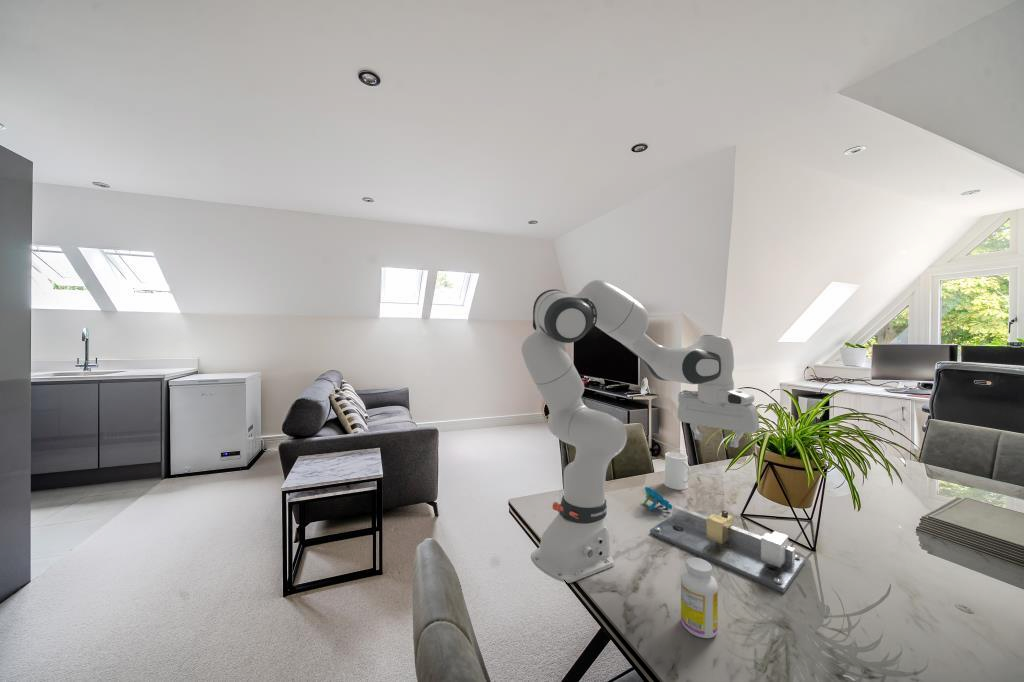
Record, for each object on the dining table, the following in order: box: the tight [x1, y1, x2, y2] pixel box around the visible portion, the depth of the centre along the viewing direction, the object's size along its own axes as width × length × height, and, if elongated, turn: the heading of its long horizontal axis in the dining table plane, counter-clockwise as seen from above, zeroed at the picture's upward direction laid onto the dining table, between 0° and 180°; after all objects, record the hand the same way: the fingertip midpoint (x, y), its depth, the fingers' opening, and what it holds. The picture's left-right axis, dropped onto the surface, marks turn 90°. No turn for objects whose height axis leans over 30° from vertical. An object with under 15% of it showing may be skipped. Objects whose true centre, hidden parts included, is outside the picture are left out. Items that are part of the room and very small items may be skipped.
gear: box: [642, 486, 673, 512], centre depth 126 cm, size 11×6×10 cm
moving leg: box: [707, 510, 734, 545], centre depth 104 cm, size 8×4×7 cm, turn 130°
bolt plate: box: [649, 515, 806, 594], centre depth 103 cm, size 18×33×2 cm, turn 40°
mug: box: [663, 451, 693, 491], centre depth 144 cm, size 12×8×12 cm
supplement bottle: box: [680, 556, 719, 639], centre depth 75 cm, size 7×7×13 cm
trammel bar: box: [671, 504, 796, 569], centre depth 103 cm, size 8×31×7 cm, turn 40°
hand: (715, 442), depth 103 cm, fingers open, 8 cm apart
